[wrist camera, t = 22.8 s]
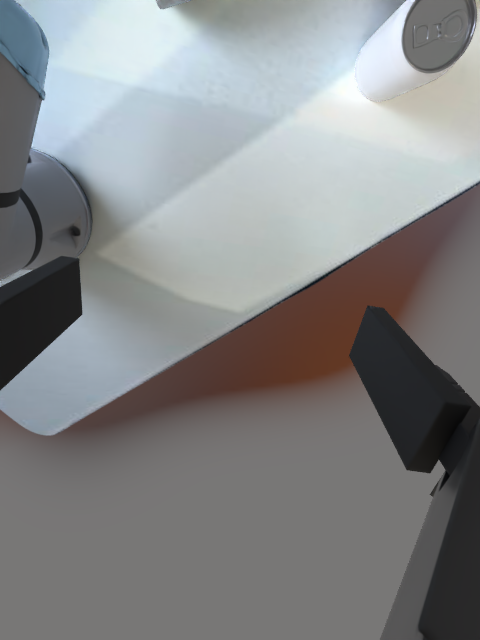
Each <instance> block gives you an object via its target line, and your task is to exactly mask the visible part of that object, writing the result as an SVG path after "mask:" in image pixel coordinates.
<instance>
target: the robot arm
mask: <svg viewBox="0 0 480 640" xmlns="http://www.w3.org/2000/svg"><path fill="white" fill-rule="evenodd" d="M48 58H49V46H48V42H47V39H46V36H45V34H44V32H43V30H42V29H41V27H40V26H39V24H38V23H37V22H36V21H35V20H34V18H33V17H32V16H31V15H30V14H29V13H28V12H27V11H26V10H24V9H23V8H22V7H21V6H20V5H19V4H18V3H17V2H16V1H14V0H0V280H1V279H3V278H5V277H7V276H9V275H11V274H13V273H15V272H17V271H19V270H21V269H34V270H33V271H31V272H29V273H27V274H25V275H23V276H21V277H19V278H17V279H15V280H13V281H11V282H9V283H7V284H5V285H3V286H1V287H0V390H1V389H2V388H3V387H4V386H6V385H7V384H8V383H9V382H10V381H11V380H12V379H13V378H14V377H15V376H16V375H17V374H18V373H20V372H21V371H22V370H23V369H24V368H25V367H26V366H27V365H28V364H29V363H30V362H31V361H33V360H34V359H35V358H36V357H37V356H38V355H39V354H40V353H41V352H42V351H43V350H44V349H45V348H47V347H48V346H49V345H50V344H51V343H52V342H53V341H54V340H55V339H56V338H57V337H58V336H60V335H61V334H62V333H63V332H64V331H65V330H66V329H67V328H68V327H69V326H70V325H71V324H72V323H74V322H75V321H76V320H77V319H78V318H79V317H80V316H81V315H82V300H81V283H80V267H79V258H76V257H77V256H78V255H79V254H80V253H81V252H82V251H83V250H84V248H85V247H86V245H87V243H88V241H89V238H90V234H91V227H92V219H91V211H90V207H89V204H88V201H87V198H86V196H85V193H84V191H83V190H82V188H81V186H80V184H79V183H78V182H77V180H76V179H75V178H74V176H73V175H72V174H71V173H70V172H69V171H68V170H67V169H66V168H65V167H64V166H63V165H62V164H61V163H59V162H58V161H57V160H55V159H54V158H52V157H50V156H49V155H47V154H45V153H42V152H40V151H37V150H34V149H31V145H32V140H33V136H34V132H35V127H36V123H37V118H38V114H39V110H40V105H41V101H42V100H44V99H45V92H44V90H43V88H44V82H45V76H46V70H47V64H48ZM349 356H350V358H351V360H352V362H353V364H354V366H355V368H356V370H357V372H358V374H359V376H360V378H361V380H362V382H363V384H364V386H365V388H366V390H367V392H368V394H369V396H370V398H371V400H372V402H373V404H374V406H375V408H376V410H377V412H378V414H379V416H380V418H381V420H382V422H383V424H384V426H385V428H386V430H387V432H388V434H389V435H390V438H391V439H392V442H393V444H394V446H395V448H396V449H397V451H398V454H399V455H400V458H401V459H402V461H403V463H404V465H405V467H406V469H407V470H410V471H417V472H426V473H431V471H432V470H433V468H434V466H435V464H436V463H437V461H438V460H440V462H441V463H442V465H443V466H444V468H445V470H446V471H445V472H444V474H443V475H442V477H441V478H440V480H439V481H438V483H437V484H436V486H435V487H434V489H433V491H432V492H431V494H430V495H431V496H433V499H432V502H431V505H430V507H429V510H428V513H427V515H426V518H425V521H424V523H423V526H422V529H421V531H420V534H419V537H418V540H417V542H416V545H415V548H414V550H413V553H412V555H411V558H410V561H409V563H408V566H407V569H406V571H405V574H404V577H403V579H402V582H401V585H400V587H399V590H398V593H397V595H396V598H395V601H394V603H393V606H392V609H391V611H390V614H389V617H388V619H387V622H386V625H385V627H384V630H383V633H382V635H381V638H380V640H480V407H479V406H478V405H477V404H476V403H475V402H474V401H473V399H472V398H471V397H470V396H469V395H468V394H467V393H465V391H464V390H463V389H462V387H461V386H460V385H458V383H457V382H456V381H455V380H454V379H453V378H452V377H451V376H450V375H449V374H448V373H447V372H445V371H444V370H443V369H441V368H440V367H438V366H437V365H434V364H433V363H432V361H431V360H430V359H429V358H428V357H427V356H426V355H425V354H424V353H423V352H422V350H421V349H420V348H419V347H418V346H417V345H416V344H415V343H414V342H413V340H412V339H411V338H410V337H409V336H408V335H407V334H406V333H405V331H403V329H402V328H401V327H400V326H399V325H398V324H397V322H396V321H395V320H394V319H393V318H392V317H391V316H390V315H389V314H388V312H387V311H386V310H385V309H384V308H380V307H373V306H367V308H366V311H365V314H364V317H363V319H362V322H361V325H360V327H359V330H358V333H357V336H356V338H355V341H354V344H353V346H352V349H351V352H350V355H349Z"/></svg>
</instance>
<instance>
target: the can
mask: <svg viewBox="0 0 480 640" xmlns="http://www.w3.org/2000/svg"><path fill="white" fill-rule="evenodd" d="M476 21H477V9H476V3H475V0H406V1H405V2H404V3H403V4H402V5H401V6H400V7H399V8H398V9H397V10H396V11H395V12H394V13H393V14H392V15H391V16H390V17H389V18H388V19H387V20H386V21H385V22H384V23H383V24H382V26H381V27H380V28H379V29H378V30H377V31H376V32H375V33H374V34H373V35H372V36H371V37H370V38H369V39H368V40H367V41H366V43H365V44H364V45H363V47H362V48H361V50H360V52H359V54H358V57H357V60H356V64H355V81H356V85H357V87H358V89H359V91H360V92H361V93H362V95H363V96H365V97H366V98H367V99H369V100H372V101H378V102H379V101H386V100H389V99H392V98H394V97H396V96H399V95H401V94H404V93H406V92H408V91H411V90H413V89H415V88H417V87H420V86H422V85H424V84H427V83H429V82H431V81H433V80H435V79H437V78H438V77H440V76H441V75H443V74H444V73H446V72H447V71H448V70H449V69H450V68H451V67H452V66H453V65H454V64H455V62H456V61H457V60H458V59H459V58H460V57H461V56H462V54H463V53H464V52H465V50H466V49H467V47H468V45H469V44H470V42H471V39H472V37H473V34H474V31H475V27H476Z"/></svg>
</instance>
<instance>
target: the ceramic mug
mask: <svg viewBox="0 0 480 640" xmlns="http://www.w3.org/2000/svg"><path fill="white" fill-rule="evenodd" d="M188 1H191V0H156V2H157V5H158V6H159V8H160V9H166V8H169V7H172V6H175V5H178V4H181V3H184V2H188Z"/></svg>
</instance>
